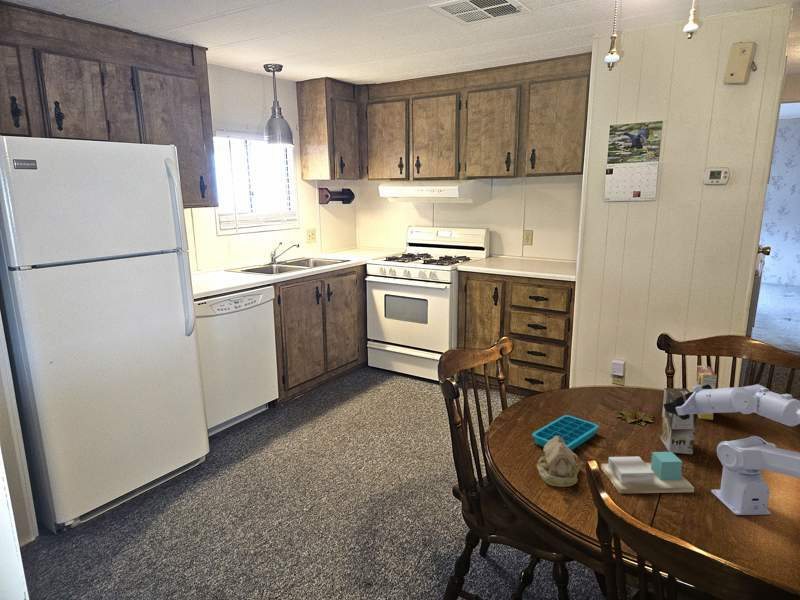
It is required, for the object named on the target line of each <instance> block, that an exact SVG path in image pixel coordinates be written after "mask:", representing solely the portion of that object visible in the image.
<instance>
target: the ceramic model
mask: <svg viewBox="0 0 800 600" xmlns="http://www.w3.org/2000/svg"><path fill="white" fill-rule="evenodd" d="M543 454H544V455H543V456H540V458H539V459H538V460H537V461H538V462H537V463H536V468H537V471H538V473H539V476H540V477H541V479H542V481H544V482H545V483H546V484H547V485H549V486H552V487H561V488H565V487H566V488H567V487H572V486H573V485H575V484H576V483H577V482H578V474H579V472H580V465H578V463H577V462H578V461H579V457H578V455H577V454H576V453H574V451H573V450H572V451H571V450H570V449H569V448H568V446H567V445H566V444H565V443H564V442H563V439H562V437H560V436H555V437H554V438H552V439H551V440H549V441H548V442H547V443H546V445H545V446H544V447H543Z"/></svg>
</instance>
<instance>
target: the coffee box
mask: <svg viewBox="0 0 800 600" xmlns="http://www.w3.org/2000/svg"><path fill="white" fill-rule="evenodd" d="M690 392H691V391H690V390H689V389H688V388H680V387H679V388H675V387H673V388H672V387H671V388H667V387H664V389H663V399H662V401H663V402H662V413H661V425H660V426H661V427H660V428H661V429H660V438H659V439H660V440H661V442H662V443H663V445H664V446H665V448H666V449H667V452H672V453H673V454H683V455H684V454H685V455H693V453H694V448H695V447H694V444H695V438H696V435H695V434H696V427H697V425H696V424H697V418H698V415H697V414H689V417H690V418H688V419H686V420H682V419H681V418H680V417H678V416H677V415H675V414H672V413H669V412H666V410H665V408H664V405H663V404H665V403H668V402H672V401H673V400H674V399H676V398H678V397H680V396H682V397H683V399H684V402H686V401H687V399H686V396H685V394H688V393H690Z"/></svg>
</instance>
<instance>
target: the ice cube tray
mask: <svg viewBox="0 0 800 600" xmlns="http://www.w3.org/2000/svg"><path fill="white" fill-rule="evenodd" d="M599 428H600V425H599V424H597V423H593V422H591V421H588V420H584V419H581V418H577V417H575V416H571V415H569V414H564V415H562V416H560V417H559V418H557V419H555V420H554V421H553V420H552V421H551V422H549V423H548V424H547V425H545V426H543V427H542V428H541V427H540V428H539V429H537V430H536V431H533V433H532V434H531V436H532V437H533V438H534V439H535V444H536V445H538V446H541V447H543V448H544V446H545V445H546V443H547V442H548V441H549V440H551V439H552V438H554V437H555V436H560V437H562V439H563V442H564V443H565V444H566V445H567V446H568V448H569V449H570V450H571V451H572V452H573V450H575V449H576V448H578V447H580V445H582V444H584V442H586V441H588V440H590V439H591V438H592V437H594V436H595V434H596V431H597V430H598V429H599Z"/></svg>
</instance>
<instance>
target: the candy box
mask: <svg viewBox="0 0 800 600" xmlns="http://www.w3.org/2000/svg"><path fill="white" fill-rule="evenodd" d="M717 378H718V375H717V374H716V373H715V371H714V370H713V368H712V367H711V366H707V365H697V367H696V377H695V386H698V385H700V386H701V387H702V386H705V385H707V384H709V385H710V386H711V388H712V389H717V387H716V386H717ZM697 418H698V419H700V420H709V421H713V420H714V413H708V414H697Z"/></svg>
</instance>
